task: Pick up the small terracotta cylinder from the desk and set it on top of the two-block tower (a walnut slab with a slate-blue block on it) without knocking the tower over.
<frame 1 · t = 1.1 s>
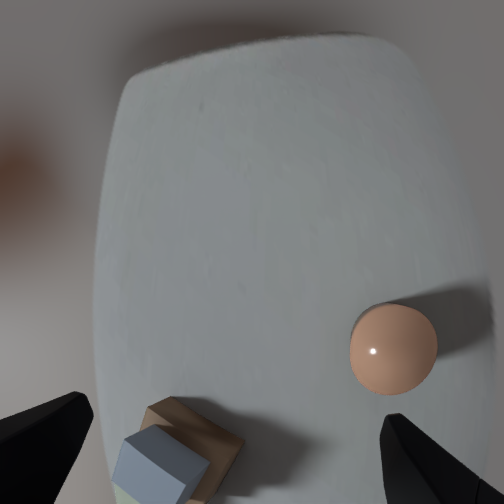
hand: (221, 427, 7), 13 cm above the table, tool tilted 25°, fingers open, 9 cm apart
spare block: (163, 488, 22), on the table
tower base: (194, 446, 21), on the table, touching tower mid
tower mid: (171, 464, 18), point 3 cm above the table, touching tower base
clay cylinder: (384, 337, 18), on the table
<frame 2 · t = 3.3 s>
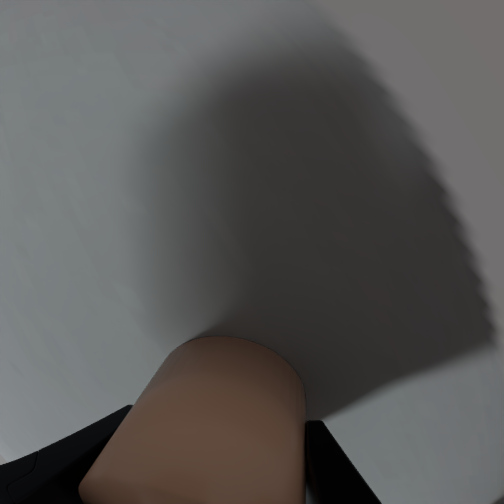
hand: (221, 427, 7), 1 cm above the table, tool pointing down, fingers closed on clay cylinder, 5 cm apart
clay cylinder: (229, 400, 9), on the table, touching gripper
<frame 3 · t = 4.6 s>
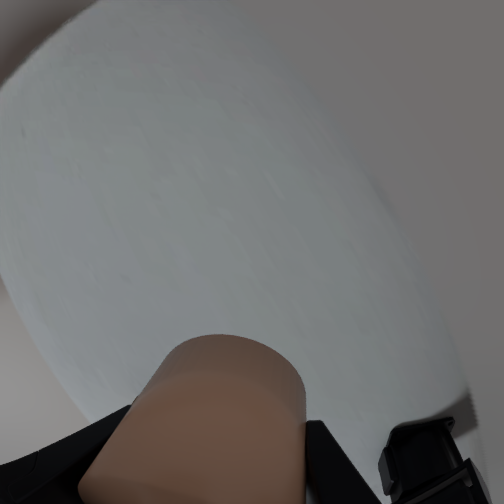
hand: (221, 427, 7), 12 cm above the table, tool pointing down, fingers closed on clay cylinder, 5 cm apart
clay cylinder: (229, 398, 9), point 11 cm above the table, touching gripper
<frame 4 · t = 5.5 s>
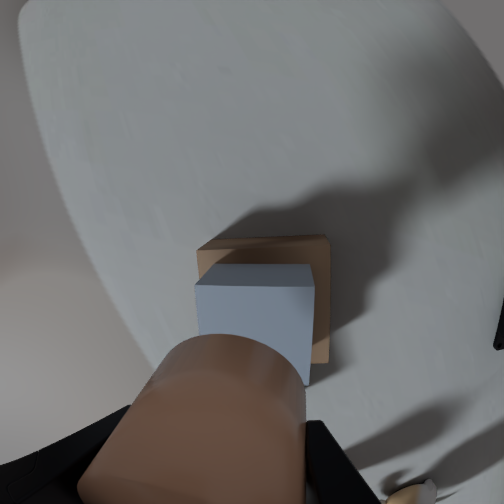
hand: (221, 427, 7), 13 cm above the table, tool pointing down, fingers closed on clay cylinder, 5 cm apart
tower base: (270, 289, 20), on the table, touching tower mid
tower mid: (262, 308, 17), point 3 cm above the table, touching tower base
kitten: (408, 492, 24), on the table
clay cylinder: (229, 398, 9), point 11 cm above the table, touching gripper
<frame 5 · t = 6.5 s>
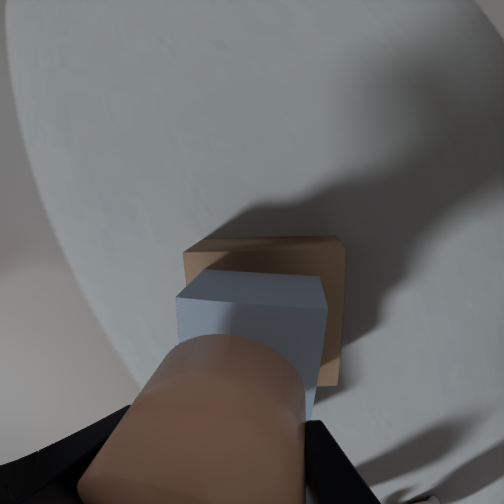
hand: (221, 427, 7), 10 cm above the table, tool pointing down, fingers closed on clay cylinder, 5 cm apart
tower base: (270, 298, 17), on the table, touching tower mid
tower mid: (258, 325, 14), point 3 cm above the table, touching tower base
clay cylinder: (229, 398, 9), point 8 cm above the table, touching gripper
when the fingers open (10 cm above the table, at t = 6.5 s): clay cylinder drops 2 cm, resting on tower mid.
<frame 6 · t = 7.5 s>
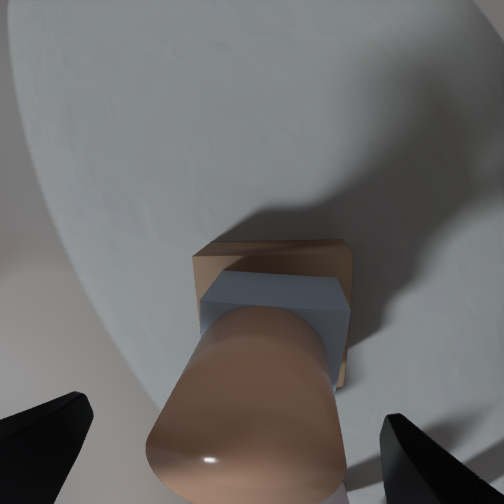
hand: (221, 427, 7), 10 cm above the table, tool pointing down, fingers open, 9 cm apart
smoothie: (324, 487, 21), on the table
tower base: (277, 300, 17), on the table, touching tower mid
tower mid: (276, 326, 14), point 3 cm above the table, touching clay cylinder, tower base
clay cylinder: (261, 365, 10), point 7 cm above the table, touching tower mid
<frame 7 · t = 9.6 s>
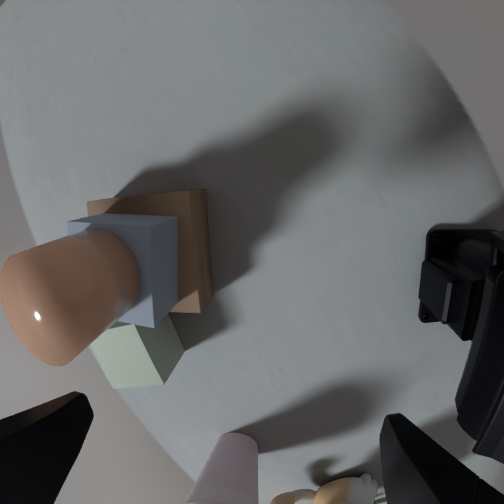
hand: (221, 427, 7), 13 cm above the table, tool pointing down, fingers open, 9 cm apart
smoothie: (237, 443, 24), on the table
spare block: (149, 329, 22), on the table
tower base: (162, 243, 21), on the table
tower mid: (138, 257, 17), point 3 cm above the table, touching clay cylinder
kitten: (345, 486, 24), on the table
clay cylinder: (101, 273, 14), point 7 cm above the table, touching tower mid
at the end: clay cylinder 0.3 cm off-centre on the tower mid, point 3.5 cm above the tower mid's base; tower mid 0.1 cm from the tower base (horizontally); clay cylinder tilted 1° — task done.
